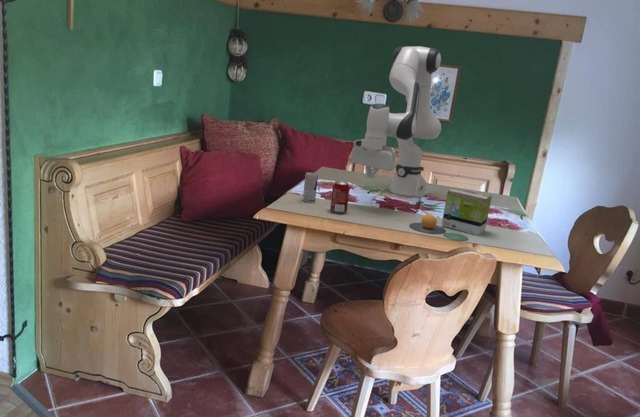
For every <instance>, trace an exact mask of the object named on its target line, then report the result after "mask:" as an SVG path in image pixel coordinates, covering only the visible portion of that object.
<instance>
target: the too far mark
mask: <svg viewBox="0 0 640 417" xmlns="http://www.w3.org/2000/svg"><path fill="white" fill-rule="evenodd" d="M443 237H445V238H447V239H449V240H453V241H459V242H466V241H468V240H469V236H466V235H464V234H460V233H456V232H446V233H443Z"/></svg>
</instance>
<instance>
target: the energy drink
mask: <svg viewBox="0 0 640 417" xmlns="http://www.w3.org/2000/svg"><path fill="white" fill-rule="evenodd" d="M318 175H319V174H318V173H316V172H305V174H304V176H305V177H304V184H303V194H302V201H303V202H304V203H315V202H316V196H317V188H318V178H319V176H318Z"/></svg>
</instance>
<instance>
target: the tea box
mask: <svg viewBox="0 0 640 417" xmlns="http://www.w3.org/2000/svg"><path fill="white" fill-rule="evenodd" d="M492 197H493V195H491V194H486V193H482V192H477V191H473V190H467V189H464V188H459V187H454V188H452V189H450V190H447V195H446V199H445V205H444V210H443V215H442V219H441V221H442V222H441V227H443V228H449V229H453V230H457V231H461V232H464V233H468V234H472V235H475V236H479V235H480V234H482V233H484V232H485V231H486V227H487V222H488V217H489V213H490V208H491V203H492Z"/></svg>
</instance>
